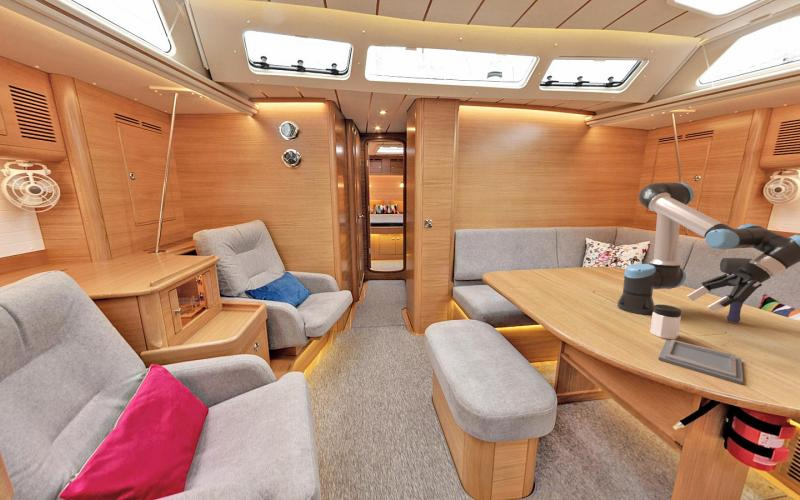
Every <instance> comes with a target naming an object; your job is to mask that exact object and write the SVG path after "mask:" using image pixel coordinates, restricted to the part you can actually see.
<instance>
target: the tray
mask: <svg viewBox="0 0 800 500" xmlns="http://www.w3.org/2000/svg"><path fill="white" fill-rule="evenodd" d="M670 341H671V342H670V345H669V347H668V349H667V352H666V355H665V357H666V358H670V359H673V360H677V361H680V362H684V363H687V364H690V365H694V366H697V367H701V368H704V369H708V370H711V371H715V372H718V373H722V374H725V375H729V376H732V377H736V360H735V357H736V355H735V354H732V353H728V352H723V351H720V350H716V349H711V348H707V347H704V346H700V345H695V344H692V343H689V342H688V343H687V342H683V341H679V340H676V339H675V340H673V339H670ZM674 344H676V345H680V346H684V347H688V348H692V349H696V350H700V351H704V352H707V353H711V354H715V355H719V356H723V357H727V358H730V371H728V370H725V369H721V368H718V367H714V366H710V365H707V364H703V363H700V362H696V361H693V360H689V359H685V358H682V357H678V356H675V355H671V352H672V349H673V346H674Z"/></svg>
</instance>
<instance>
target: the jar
mask: <svg viewBox="0 0 800 500" xmlns="http://www.w3.org/2000/svg"><path fill="white" fill-rule="evenodd" d="M654 305H655V306H654V312H653V314H651V321H650V330H649V333H650V334H652V335H654V336H656V337H658V338H661V339H666V340H676V339H677V338H678V337H679V333H680V325H681V320H682V319H681V318H682V310H681V309H680V308H678V307H676V306H672V305H668V304H654Z"/></svg>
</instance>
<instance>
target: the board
mask: <svg viewBox="0 0 800 500" xmlns="http://www.w3.org/2000/svg"><path fill="white" fill-rule="evenodd" d="M670 342H671V339H666V340H665V341H664V345H663V346H662V349H661V352H660V353H659V355H658V360H659V361H662V362H666V363H669V364H670V365H671V364H672V365H675V366H679V367H682V368H686V369H688V370H692V371H695V372H699V373H701V374H702V373H703V374H706V375H708V376H712V377H715V378H719V379H722V380H725V381H730V382H732V383H735V384H738V385H743V384H744V377H743V375H744V374H743V363H742V358H740V357H737V356H735V360H736V377H732V376H729V375H725V374H722V373H718V372H715V371H711V370H708V369H704V368H701V367H697V366H694V365H690V364H687V363H684V362H680V361H677V360H673V359H670V358H666V357H665V355H666V352H667V349H668V347H669V345H670ZM671 355H675V356H678V357H682V358H685V359H689V360H693V361H696V362H700V363H703V364H707V365H710V366H714V367H718V368H721V369H725V370H728V371H730V358H727V357H723V356H719V355H715V354H711V353H707V352H704V351H700V350H696V349H692V348H688V347H684V346H680V345H676V344H674V346H673V349H672V352H671Z"/></svg>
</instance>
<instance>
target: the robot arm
mask: <svg viewBox="0 0 800 500" xmlns="http://www.w3.org/2000/svg"><path fill="white" fill-rule="evenodd" d="M694 194H695V193H694V189H693V188H692V186H690V185H689V184H687V183H684V182H677V181H676V182H654V183H649V184H647V185H645V186H643V187H642V189H641V190H640V191H639V193H638V202H639V203H640V205H642V206H643V207H645V208H646V209H648V210H649V211H651V212H655V213H656V214H657V216H656V226H655V238H654V251H653V259H652V260H651V261H649V264H647V263H635V264H634V263H633V264H630V265H627V266H626V267H625V269H624V273H623V274H624V276H623V288H622V293H621V295H620V297H619V299H618V301H617V306H618V307H619V308H618V307H617V308H618V309H621V310H622V309H623V310H622V311H625V312H629V313H633V314H638V315H639V314H641V315H652V314H653V312H654V306H655V305H656V304H655V302H654V300H653V292H654V290H672V289H675V288H676V289H677V288H679V287H681V286H682V285H684V283H685V282H686V278H687V274H686V272H685V271H684V269H683V268H682V267H681V263H680V262H678V261H677V260H678V251H679V250H678V249H679V248H678V247H679V237H680V228H681V227H680V226H682V227H684V228H686V229H687V230H690V231H692V232H694V233H695V234H697V235H698V236H700V237H702V238H703V239H705V243H706V244H707V246H709V248H712V249H716V250H717V249H720V250H731V249H749V248H752V249H754V250H757V251H759V252H762V253H761V254H759V255H758V256H756V257H754V258H752V259H753V260H751V261H750V263H746V264H744V265H743V266H741V267H739V268H738V271H739V272H738V273H736V274H733V273H732V272H728V273H723V274H722V275H718V276H716V277H714V278H711V279H708V280H705V281H703V282H701V287H699V288H697V289H696V290H694V291H692V292H691V293H689V294H688V295H686V296H687V297H688V298H689V299H690V300H691V301H692V302H694V301H696V300H697V299H699V298H701V297H703V296H705V295H706V294H708V293H710V292H711V291H712V290H715V289H720V288H725V287H733V288H732V289H731V291H730V293H729V294H726V296H723V297H722V298H720V299H718V300H716V301H715V302H713V303H711V304H709V305H707V308H708V309H709V310H710V311H712V313H716V312H719V311H720V310H722V309H723V308H724V309H725V308H726V307H728V306H730V304H732V303H733V302H740V303H743V304H744V302H745V301H747V299H749V297H750V296H751V295H752V294H753V293H754V292H756V290H757V289H759V288H760V287H762V286H763V284H762V283H764V282H765V281H768V280H769V279H771V277H774V276H776V275H779V274H781V273H782V272H784V271H785V270H788V269H789V268H791V267H792V266H794V265H796V264H797V263H800V234H794V235H792V236H789V237H787V236H785V235H784V236H783V235H782V234H779V233H777V232H774V231H772V230H769V229H767V228H764V227H762V226H761V225H758V224H757V225H756V224H754V223H745V224H743V225H740V226H739V227H736V228H733V227H732V226H729V225H727V224H725V223H723V222H721V221H720V220H717V219H715V218H714V217H711V216H709V215H707V214H705V213H703V212H701V211H699V210H698V209H695V208H694V207H690V206H689V204H690V203H691V202H692V201H693V199H694V196H695V195H694ZM740 297H741V298H740Z"/></svg>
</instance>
